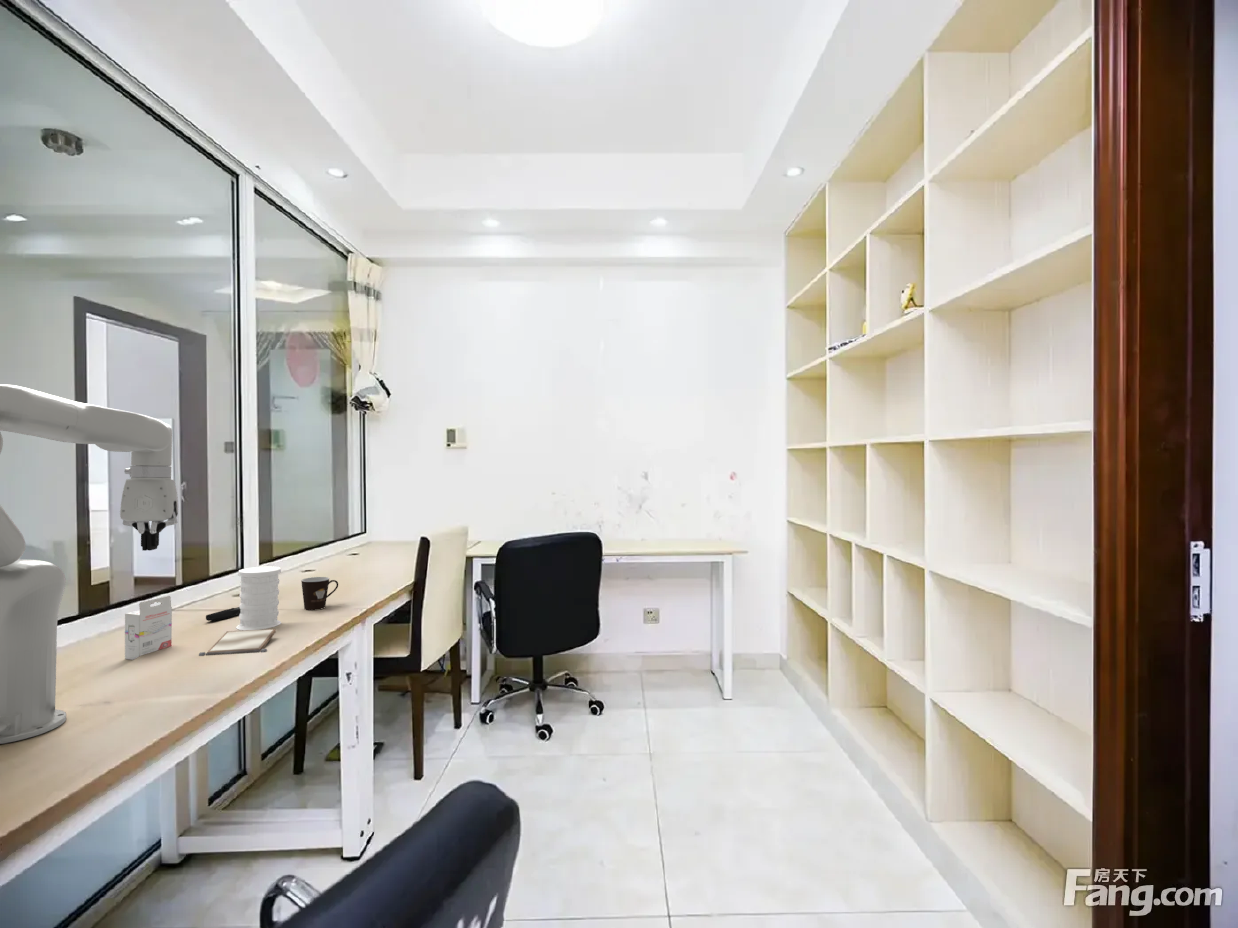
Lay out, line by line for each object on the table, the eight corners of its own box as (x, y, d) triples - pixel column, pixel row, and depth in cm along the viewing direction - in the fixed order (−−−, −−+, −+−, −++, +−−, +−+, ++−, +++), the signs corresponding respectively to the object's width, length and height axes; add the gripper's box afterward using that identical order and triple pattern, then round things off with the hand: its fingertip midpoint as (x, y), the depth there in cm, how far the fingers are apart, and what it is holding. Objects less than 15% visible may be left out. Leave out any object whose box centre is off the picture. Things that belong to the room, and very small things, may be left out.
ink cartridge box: (156, 648, 151) (158, 593, 151) (172, 650, 150) (173, 595, 150) (123, 659, 143) (124, 601, 143) (138, 660, 142) (140, 602, 142)
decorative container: (257, 636, 164) (258, 574, 164) (226, 632, 167) (227, 571, 167) (290, 625, 175) (291, 567, 175) (260, 622, 178) (261, 565, 178)
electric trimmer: (201, 624, 176) (202, 613, 176) (246, 611, 191) (246, 601, 191) (211, 625, 175) (211, 614, 175) (255, 612, 190) (255, 602, 190)
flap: (275, 628, 158) (275, 632, 159) (226, 631, 155) (227, 634, 156) (258, 650, 146) (258, 654, 146) (205, 653, 143) (205, 657, 143)
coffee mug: (300, 612, 190) (301, 582, 190) (300, 606, 198) (301, 578, 198) (338, 608, 196) (339, 579, 196) (337, 603, 203) (338, 575, 203)
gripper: (104, 473, 130) (102, 552, 130) (179, 474, 134) (178, 551, 134) (123, 472, 137) (122, 548, 137) (194, 473, 141) (193, 546, 141)
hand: (149, 549), depth 136 cm, fingers closed
